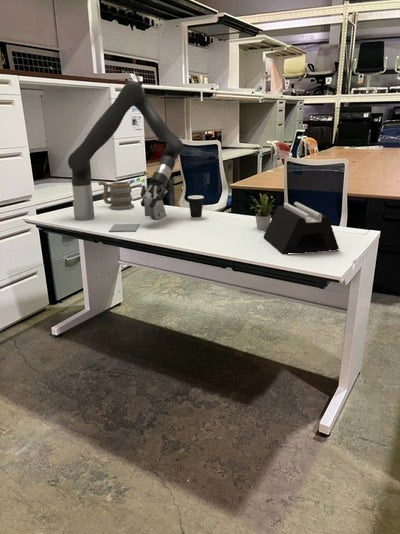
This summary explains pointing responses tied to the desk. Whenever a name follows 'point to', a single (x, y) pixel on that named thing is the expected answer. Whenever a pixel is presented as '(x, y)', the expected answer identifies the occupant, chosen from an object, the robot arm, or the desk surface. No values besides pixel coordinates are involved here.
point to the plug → (148, 205)
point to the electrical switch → (159, 210)
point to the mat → (124, 228)
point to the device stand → (300, 230)
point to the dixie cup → (196, 206)
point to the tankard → (118, 195)
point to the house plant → (263, 213)
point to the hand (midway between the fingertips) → (146, 206)
